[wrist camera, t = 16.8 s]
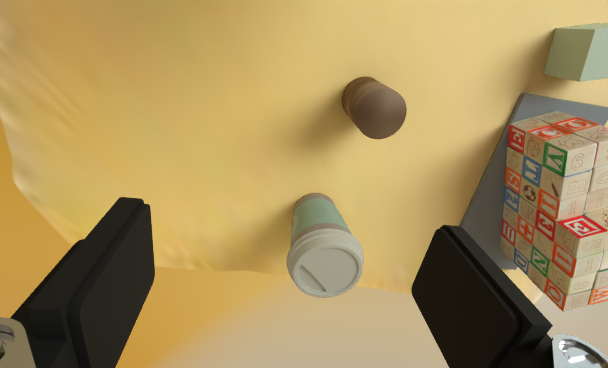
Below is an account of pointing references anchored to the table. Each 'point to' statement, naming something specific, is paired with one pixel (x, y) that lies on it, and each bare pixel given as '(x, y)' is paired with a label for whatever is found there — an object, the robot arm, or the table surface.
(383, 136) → the walnut cylinder
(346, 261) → the coffee cup
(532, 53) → the table surface
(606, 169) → the stack of blocks
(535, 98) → the charcoal mat
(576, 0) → the table surface
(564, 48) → the sage cube
